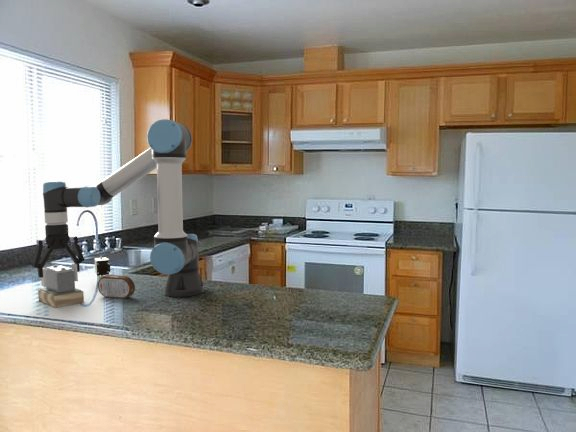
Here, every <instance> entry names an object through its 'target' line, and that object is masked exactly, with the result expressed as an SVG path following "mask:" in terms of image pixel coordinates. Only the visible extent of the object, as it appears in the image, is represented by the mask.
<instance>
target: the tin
mask: <svg viewBox="0 0 576 432" xmlns="http://www.w3.org/2000/svg"><path fill="white" fill-rule="evenodd" d="M97 290H98V292H99V294H100V295H101V296H103V297H104V298H109V299H127V298H129V297H132V296H133V295H134V294H135V290H136V287H135V283H134V281H133V279H131V278H130V277H129V276H126V275H118V274H117V275H116V274H115V275H114V274H109V275H106V276H104V277H102V278H101V279H100V280H99V281H97Z"/></svg>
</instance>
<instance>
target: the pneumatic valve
mask: <svg viewBox="0 0 576 432" xmlns="http://www.w3.org/2000/svg"><path fill="white" fill-rule="evenodd" d="M109 262H110V258H107V257H103V256H99V257H94V270H95V271H94V272H95V274H96V275H97V280H98V281H99V280H100V279H101V278H102V277H104V276H106V275H110V272H111V264H110V263H109ZM98 281H97V282H98Z"/></svg>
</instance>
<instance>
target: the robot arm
mask: <svg viewBox="0 0 576 432" xmlns="http://www.w3.org/2000/svg"><path fill="white" fill-rule="evenodd" d="M146 133H147V134H146V140H147V141H146V142H147V144H148V145H149V148H148V149H146V150H145V151H143V152H142V153H140V154H138V156H136V157H134V158H133V159H131V160H130V161H128V162H127V163H126V164H124V165H123V166H121V167H120V168H118V169H116V170H115V171H114V172H112V173H111V174H110V175H107V176H105V178H103V179H102V180H101V181H99V182H98V183H96V184H95V185H85V186H81V185H79V186H67V184H66V182H65V181H64V180H63V181H45V182H44V183H43V185H42V186H43V188H42V197H43V207H44V208H43V209H44V212H43V213H44V224H46V225H45V238H44V239H37V240H36V248H35V252H34V255H33V259H32V263H31V267H32V268H36V269H37V276H38V278H40V280H41V282H40V283H41V286H42V287H43V288H46V286H47V285H46V269H47V268H45V267H44V266H45V265H46V263H47V261H48V260H49V258H50V255H51V254H52V253H53V252H54V251H55V250H64V251H65V253H66V254H67V255H68V257H69V258H70V259H71V260H72V262H73V263H71V269H72V270H73V271H74V278H75V282H79V278H78V277H79V276H78V274H79V272H80V264H81V262H84V261H85V258H84V255H83V252H82V250H81V247H80V245H79V242H78V236H76V235H75V236H74V235H72V236H69V225H68V220H69V219H68V208H95V207H97V206H104V205H107V204H109V203H110V202H112V200H113V198H114V197H116V196H118V194H120V193H122V192H123V191H124V190H126V189H128V188H129V187H131V186H132V185H134V184H135V183H136V182H137V181H140V180H141V179H143V178H144V177H146V176H147V175H148V174H150V173H151V172H153V171H155V170H156V183H157V184H156V187H157V189H156V190H157V192H156V194H157V195H156V196H157V225H158V227H157V228H158V231H157V232H156V233H155V235H154V236H153V243H154V244H153V246H154V247H152V250H151V251H150V254H149V260H150V263H151V266H152V267H153V269H154V270H155V271H157V272H158V273H160V274H162V275H166V276H167V278H166V281H165V285H164V288H163V289H164V290H163V291H164V295H165V296H168V297H174V298H180V297H181V298H182V297H183V298H185V297H193V296H198V295H201V294H203V293H204V292H205V286H204V282H203V279H202V277H201V274H200V267H199V239H198V236H197V234H195V233H186V232H185V231H184V222H183V220H184V219H183V218H184V216H183V214H184V212H183V210H184V209H183V173H182V171H183V169H182V166H183V165H182V164H183V163H184V161H185V160H187V151H189V150H190V148H191V147H192V144H193V135H192V132H191V130H190V129H189V128H188V126H186V125H185V124H184V123H183V124H182V123H180V122H177V121H175V120H173V119H168V118H167V119H166V118H163V119H158V120H156V121H154V122H153V123H152V124H151V125H150V127H149V128H148V130H147V132H146ZM69 242H70V243H71V245H72V247H73V249H74V251H72V249H71V247H70V246H69V244H68V243H69ZM45 244H46V245H47V247H46V248H45V251H44V253H43V255H42V252H43V248H44V246H45ZM74 252H75V253H74ZM41 255H42V256H41Z"/></svg>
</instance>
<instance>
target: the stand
mask: <svg viewBox="0 0 576 432" xmlns="http://www.w3.org/2000/svg"><path fill="white" fill-rule="evenodd" d="M37 293H38V301H39V302H42V303H44V304H46V305H48V306H51V307H53V308H55V309H56V308H61V307H66V306H71V305H77V304H81V303H85V297H84V296H85V295H84V294H85V293H84V291H83V290H81V289H79V288H77V287H75V291H69V292H63V293H56V292H53V291H51V290H49V289H46V287H42V288H39V289H38V290H37Z"/></svg>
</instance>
